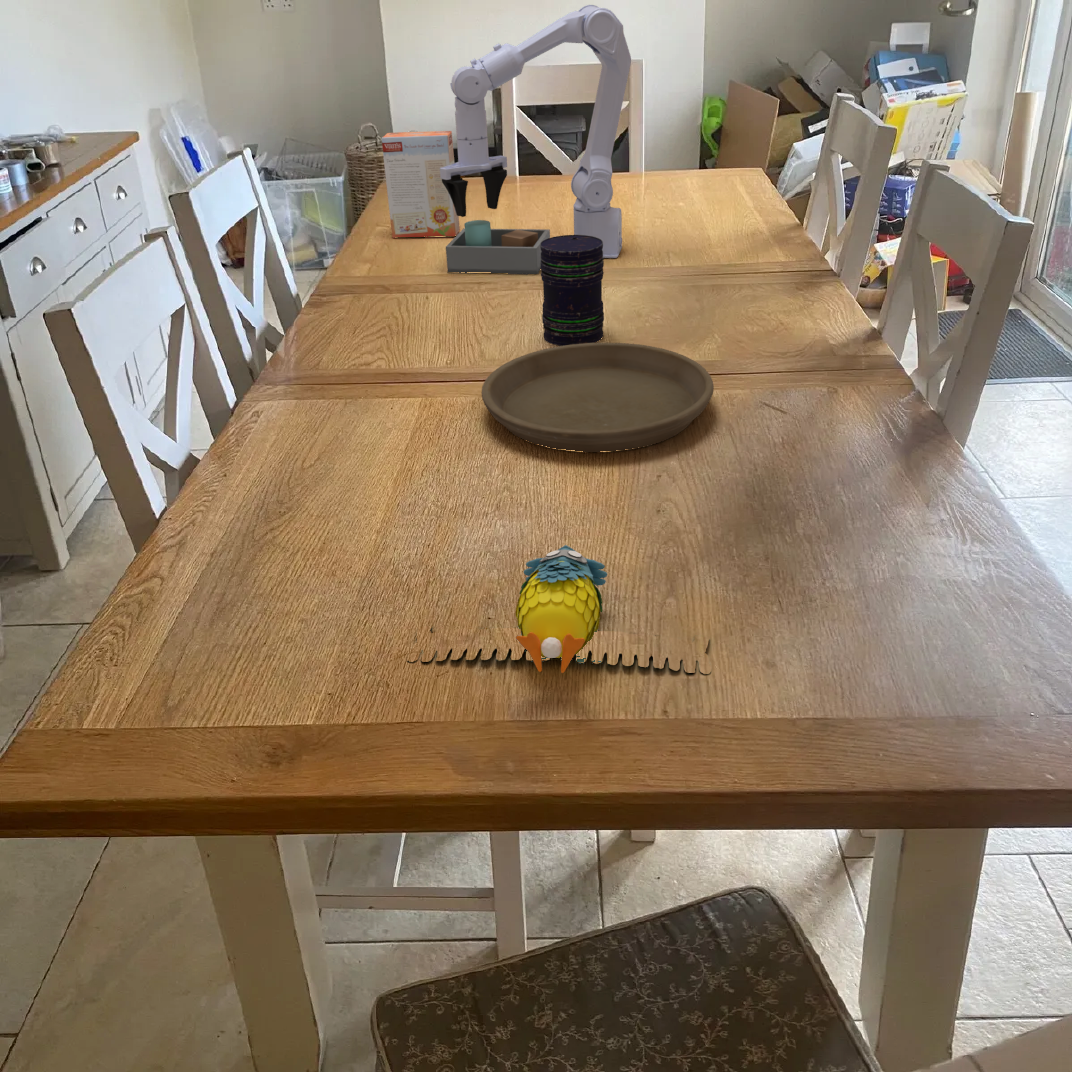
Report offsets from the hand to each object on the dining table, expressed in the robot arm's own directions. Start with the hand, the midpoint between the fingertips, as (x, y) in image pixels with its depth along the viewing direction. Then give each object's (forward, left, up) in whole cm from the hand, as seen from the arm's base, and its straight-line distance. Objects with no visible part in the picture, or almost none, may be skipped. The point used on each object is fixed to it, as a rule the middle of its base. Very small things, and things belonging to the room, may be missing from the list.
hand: (477, 212), depth 203 cm
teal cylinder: (0, 0, -9) cm, 9 cm away
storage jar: (-25, +40, -10) cm, 48 cm away
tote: (-4, 0, -10) cm, 11 cm away
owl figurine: (-37, +122, -11) cm, 127 cm away
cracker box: (+17, -20, -10) cm, 28 cm away
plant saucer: (-33, +68, -10) cm, 77 cm away
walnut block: (-8, 0, -9) cm, 12 cm away
